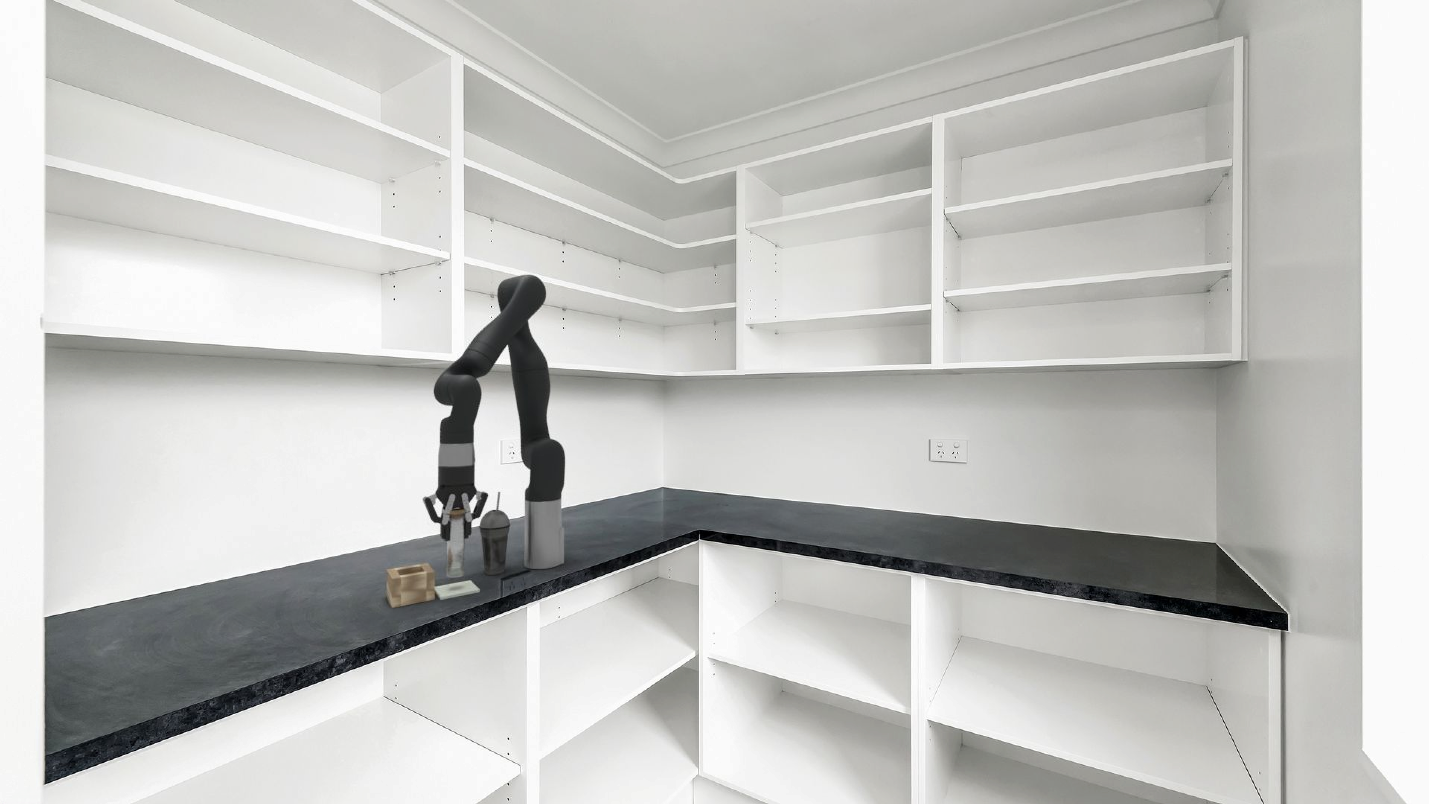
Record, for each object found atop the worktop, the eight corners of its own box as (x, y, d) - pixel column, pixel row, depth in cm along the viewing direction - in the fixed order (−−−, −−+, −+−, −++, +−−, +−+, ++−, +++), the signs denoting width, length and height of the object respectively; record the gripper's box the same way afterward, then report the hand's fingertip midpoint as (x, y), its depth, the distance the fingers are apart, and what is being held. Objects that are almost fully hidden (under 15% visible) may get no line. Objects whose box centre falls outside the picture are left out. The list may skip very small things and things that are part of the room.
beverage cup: (472, 573, 138) (473, 493, 138) (498, 566, 144) (498, 489, 144) (490, 578, 134) (490, 495, 134) (516, 570, 140) (516, 491, 140)
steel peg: (464, 570, 128) (465, 506, 128) (469, 575, 124) (470, 509, 124) (441, 574, 125) (442, 508, 125) (446, 579, 121) (447, 511, 121)
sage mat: (470, 582, 130) (470, 580, 130) (479, 592, 124) (479, 589, 124) (432, 589, 125) (432, 587, 125) (440, 599, 119) (440, 597, 119)
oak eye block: (427, 589, 126) (427, 563, 126) (434, 599, 119) (434, 571, 119) (386, 596, 121) (386, 569, 121) (392, 607, 114) (392, 579, 114)
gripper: (484, 459, 132) (484, 531, 132) (418, 463, 123) (417, 540, 123) (494, 462, 126) (493, 538, 126) (425, 466, 117) (424, 547, 117)
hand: (455, 538), depth 125 cm, fingers closed on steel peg, 3 cm apart
